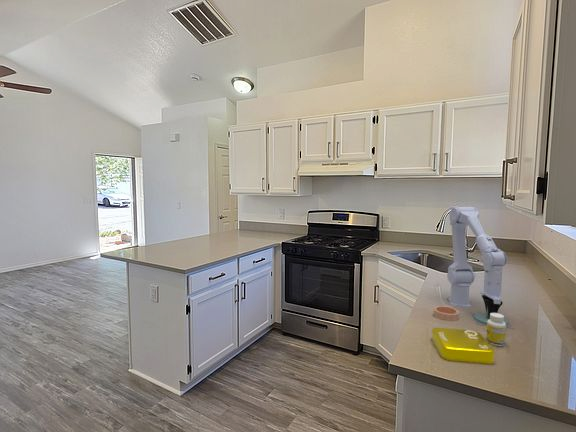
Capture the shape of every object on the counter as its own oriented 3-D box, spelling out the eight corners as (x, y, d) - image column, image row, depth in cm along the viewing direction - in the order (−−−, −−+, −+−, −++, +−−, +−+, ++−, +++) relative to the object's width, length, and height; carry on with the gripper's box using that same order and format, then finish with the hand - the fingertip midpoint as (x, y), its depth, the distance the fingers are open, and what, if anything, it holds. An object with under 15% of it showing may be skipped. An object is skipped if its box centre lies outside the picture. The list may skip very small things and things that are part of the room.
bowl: (432, 311, 136) (432, 305, 135) (456, 314, 133) (456, 307, 132) (434, 320, 127) (435, 313, 127) (460, 323, 124) (460, 315, 124)
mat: (470, 314, 133) (470, 312, 133) (503, 317, 129) (503, 316, 129) (476, 325, 122) (476, 324, 122) (513, 330, 118) (513, 328, 118)
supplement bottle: (487, 337, 113) (488, 310, 112) (506, 342, 109) (507, 314, 108) (484, 343, 108) (486, 315, 108) (504, 348, 105) (505, 319, 104)
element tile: (430, 338, 113) (430, 325, 113) (476, 342, 110) (477, 328, 110) (442, 361, 98) (443, 346, 98) (496, 366, 96) (497, 350, 95)
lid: (471, 313, 133) (472, 299, 132) (502, 316, 129) (503, 302, 128) (477, 323, 122) (478, 308, 122) (511, 328, 119) (512, 312, 118)
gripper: (476, 276, 132) (475, 307, 134) (485, 286, 119) (483, 321, 120) (496, 277, 130) (494, 309, 131) (507, 288, 116) (505, 324, 118)
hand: (490, 315), depth 125 cm, fingers closed on lid, 3 cm apart
